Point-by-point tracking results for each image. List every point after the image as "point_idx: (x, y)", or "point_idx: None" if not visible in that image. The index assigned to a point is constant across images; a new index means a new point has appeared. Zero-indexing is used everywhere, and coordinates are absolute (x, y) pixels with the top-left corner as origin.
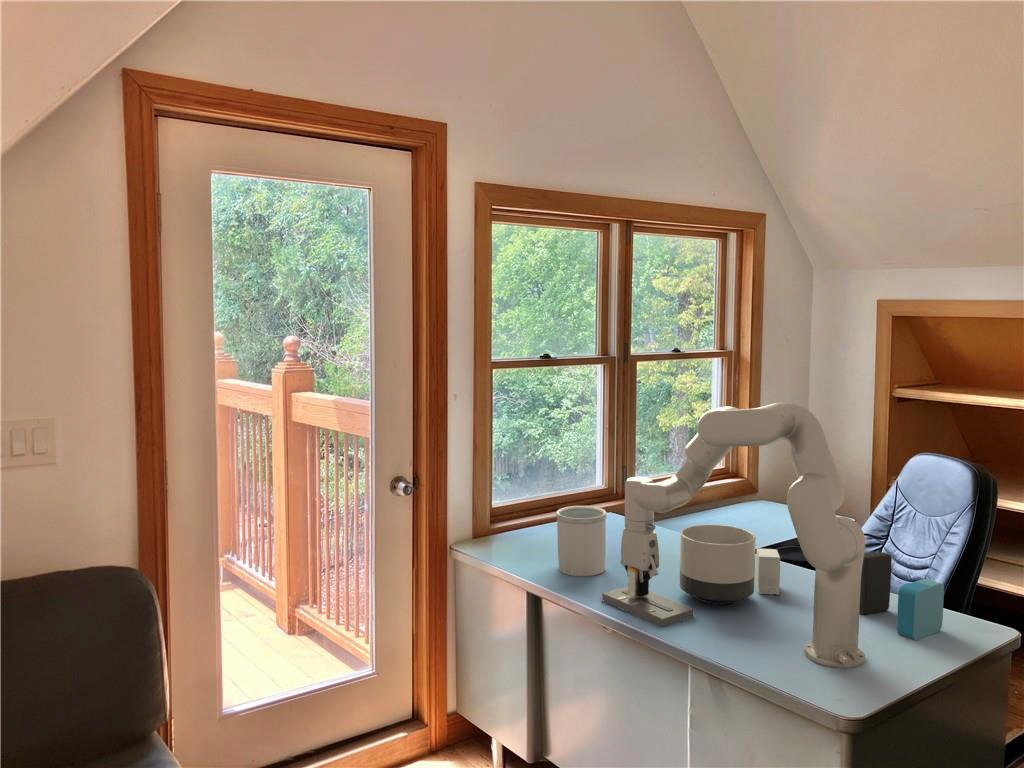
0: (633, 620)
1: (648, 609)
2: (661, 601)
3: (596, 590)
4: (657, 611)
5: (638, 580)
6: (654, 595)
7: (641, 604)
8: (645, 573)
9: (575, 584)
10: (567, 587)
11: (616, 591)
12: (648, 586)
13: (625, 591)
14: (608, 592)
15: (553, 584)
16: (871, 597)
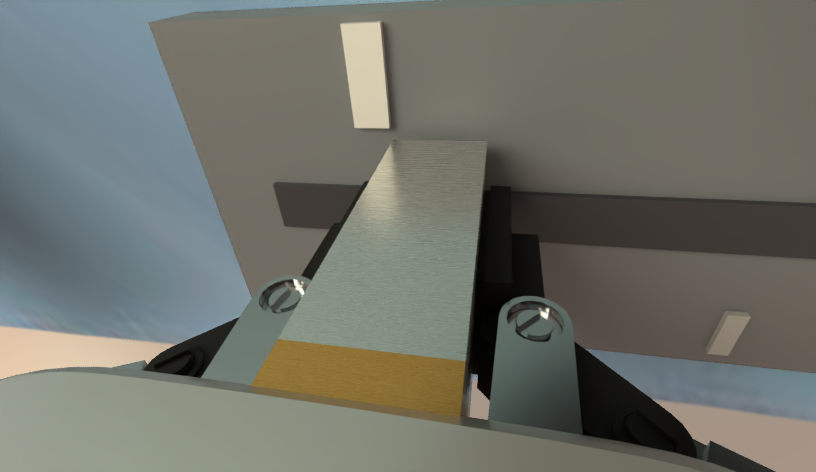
0: (610, 359)
1: (675, 323)
2: (672, 126)
3: (117, 201)
4: (768, 312)
5: (470, 386)
6: (500, 55)
7: (567, 291)
8: (469, 364)
9: (11, 223)
10: (57, 275)
11: (261, 240)
12: (482, 185)
13: (296, 208)
14: (259, 284)
15: (13, 291)
16: None
